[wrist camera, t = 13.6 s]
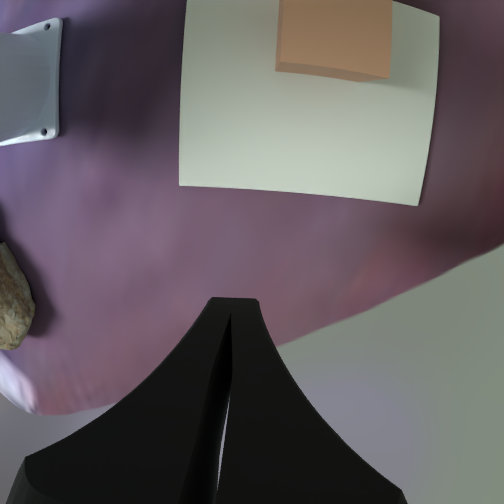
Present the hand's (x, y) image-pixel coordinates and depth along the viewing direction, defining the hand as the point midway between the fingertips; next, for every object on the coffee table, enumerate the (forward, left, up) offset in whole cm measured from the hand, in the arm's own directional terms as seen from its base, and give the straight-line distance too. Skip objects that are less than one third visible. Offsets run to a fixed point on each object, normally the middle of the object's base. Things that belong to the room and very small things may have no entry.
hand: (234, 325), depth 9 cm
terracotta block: (+3, +8, -8) cm, 11 cm away
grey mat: (+3, +7, -10) cm, 13 cm away
